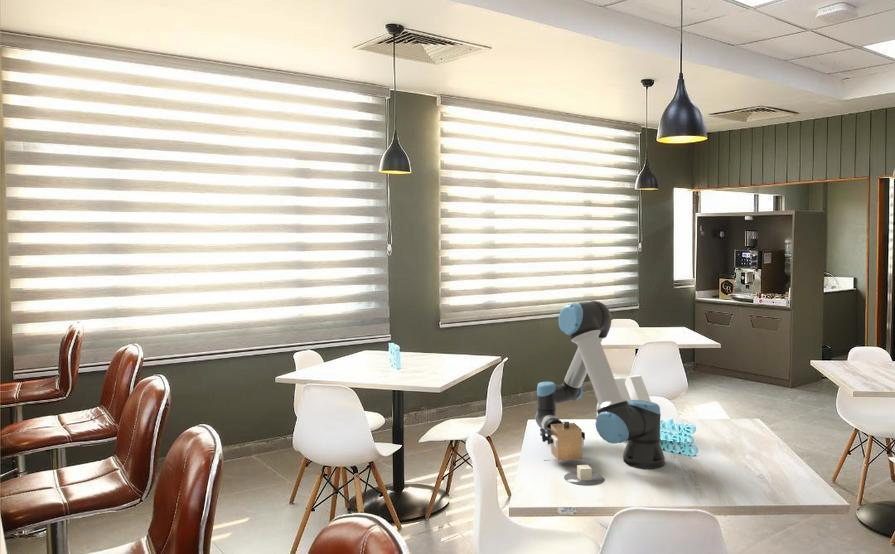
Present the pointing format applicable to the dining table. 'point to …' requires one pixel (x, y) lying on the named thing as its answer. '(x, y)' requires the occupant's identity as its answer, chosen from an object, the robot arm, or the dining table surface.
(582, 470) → the cake cube
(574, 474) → the plate
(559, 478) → the dining table surface
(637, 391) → the milk carton
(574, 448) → the wooden cube with knob
